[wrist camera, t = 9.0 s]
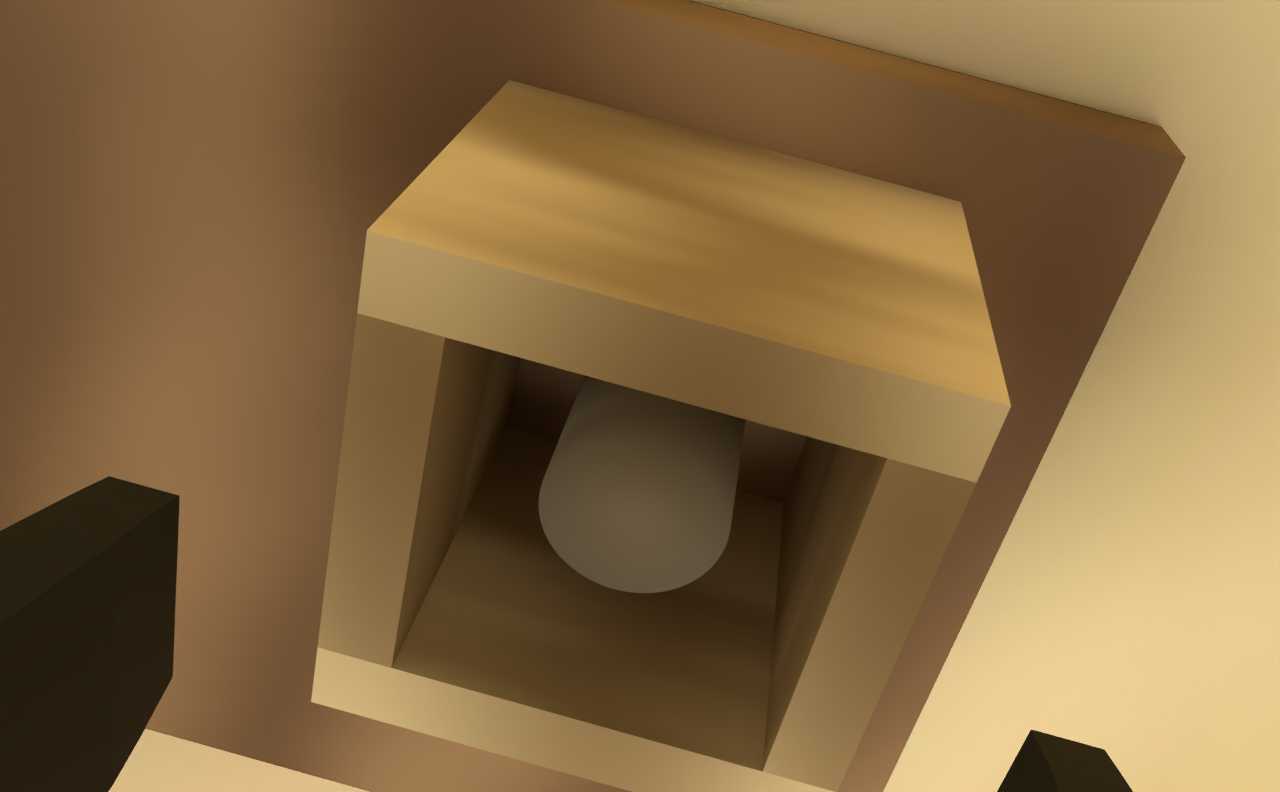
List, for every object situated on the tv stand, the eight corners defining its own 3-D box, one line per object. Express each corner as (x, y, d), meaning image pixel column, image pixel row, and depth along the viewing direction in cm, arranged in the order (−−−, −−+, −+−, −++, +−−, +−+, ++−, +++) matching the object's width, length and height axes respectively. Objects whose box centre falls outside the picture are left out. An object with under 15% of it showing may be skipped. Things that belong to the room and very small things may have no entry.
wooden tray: (-126, 596, 22) (-374, 817, 18) (-235, -246, 15) (-693, -235, 11) (823, 861, 22) (818, 1156, 17) (1161, 127, 15) (1299, 301, 10)
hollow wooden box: (443, 458, 17) (310, 701, 13) (509, 79, 15) (367, 229, 10) (822, 562, 17) (814, 842, 13) (961, 201, 14) (1011, 405, 10)
